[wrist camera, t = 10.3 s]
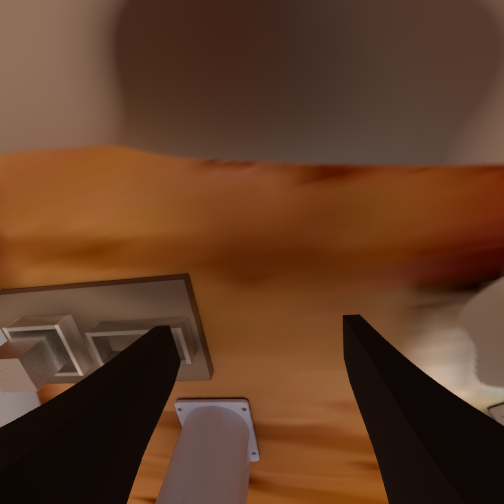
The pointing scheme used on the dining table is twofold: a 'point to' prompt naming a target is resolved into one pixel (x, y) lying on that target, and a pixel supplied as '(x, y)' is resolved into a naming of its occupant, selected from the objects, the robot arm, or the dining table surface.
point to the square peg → (31, 360)
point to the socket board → (110, 321)
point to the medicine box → (498, 413)
